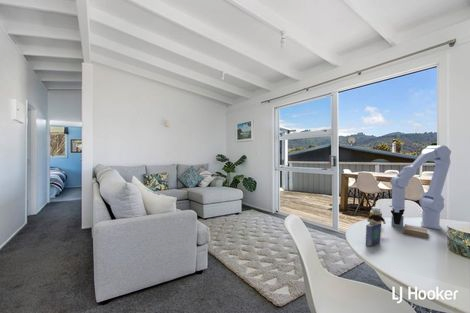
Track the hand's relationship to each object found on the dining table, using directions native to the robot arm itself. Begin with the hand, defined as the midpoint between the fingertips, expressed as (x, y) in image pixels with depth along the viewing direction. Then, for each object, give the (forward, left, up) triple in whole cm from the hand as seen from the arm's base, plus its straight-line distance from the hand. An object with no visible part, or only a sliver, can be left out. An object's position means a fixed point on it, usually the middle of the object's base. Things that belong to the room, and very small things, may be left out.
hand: (397, 222), depth 126 cm
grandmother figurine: (+22, -7, -2) cm, 23 cm away
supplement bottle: (+10, -9, -2) cm, 14 cm away
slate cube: (0, 0, -1) cm, 1 cm away
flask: (+38, -6, -2) cm, 39 cm away
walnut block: (+9, +8, -2) cm, 12 cm away
